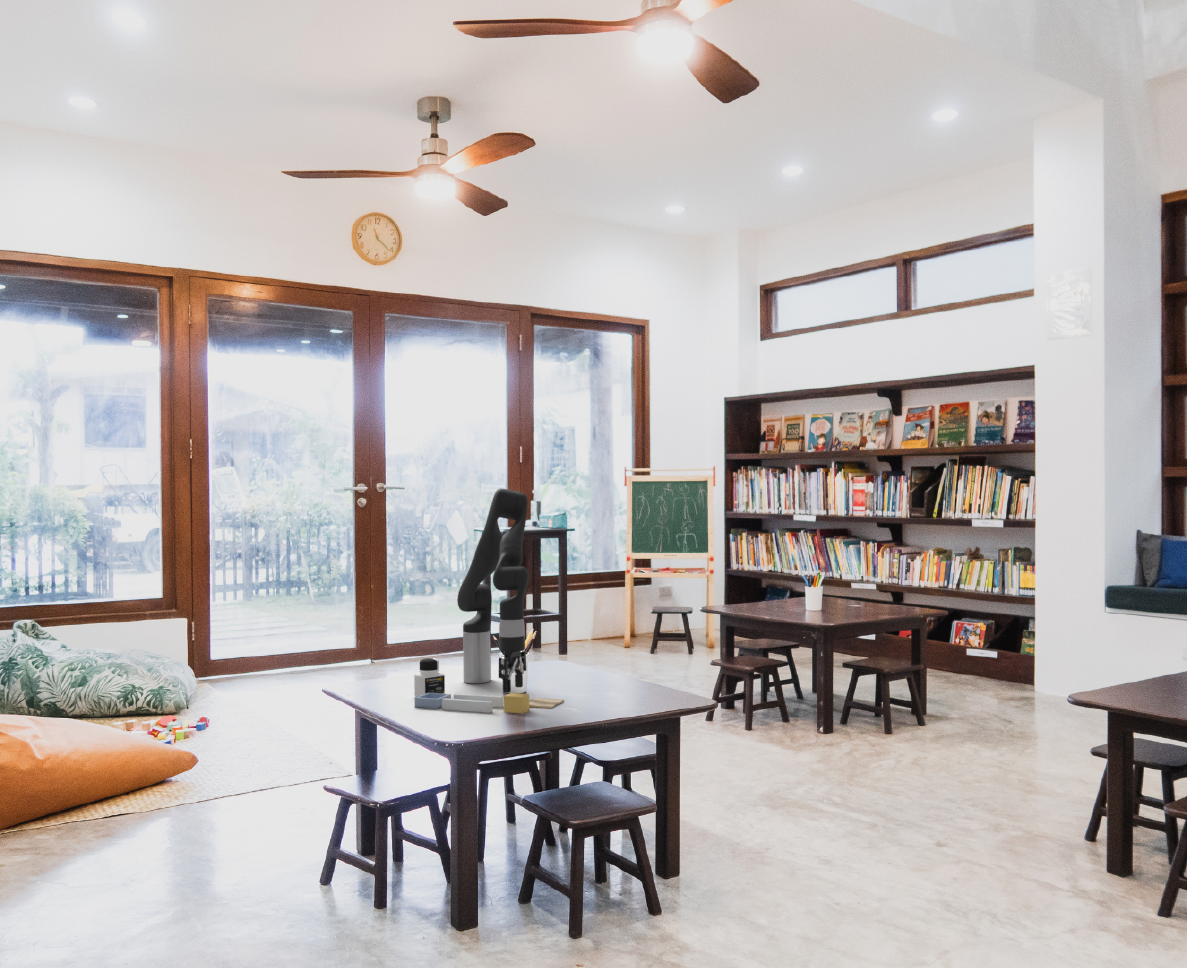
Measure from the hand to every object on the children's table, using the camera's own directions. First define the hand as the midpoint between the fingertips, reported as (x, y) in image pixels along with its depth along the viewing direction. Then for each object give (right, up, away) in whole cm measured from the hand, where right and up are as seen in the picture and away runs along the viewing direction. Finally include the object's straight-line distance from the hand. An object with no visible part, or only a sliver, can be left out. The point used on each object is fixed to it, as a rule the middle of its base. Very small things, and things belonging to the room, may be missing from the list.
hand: (513, 689), depth 275 cm
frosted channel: (-12, -7, +4) cm, 15 cm away
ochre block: (+1, -6, 0) cm, 6 cm away
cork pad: (+8, -6, +9) cm, 13 cm away
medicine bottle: (-28, -7, +22) cm, 37 cm away
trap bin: (-25, -7, +9) cm, 28 cm away
